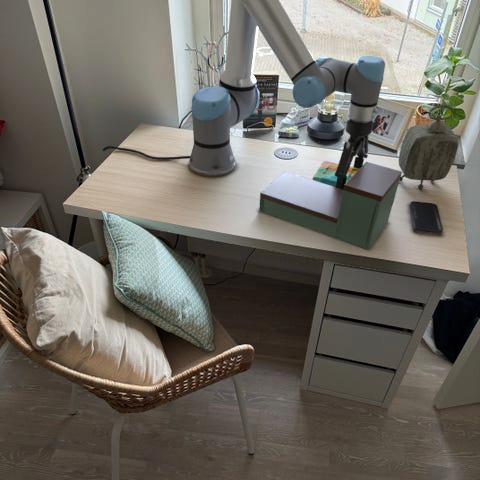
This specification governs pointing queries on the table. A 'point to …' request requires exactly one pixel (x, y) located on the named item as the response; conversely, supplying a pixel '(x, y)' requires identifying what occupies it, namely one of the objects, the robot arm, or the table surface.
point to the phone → (425, 218)
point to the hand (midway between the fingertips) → (347, 185)
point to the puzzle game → (331, 173)
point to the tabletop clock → (428, 150)
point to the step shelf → (336, 203)
